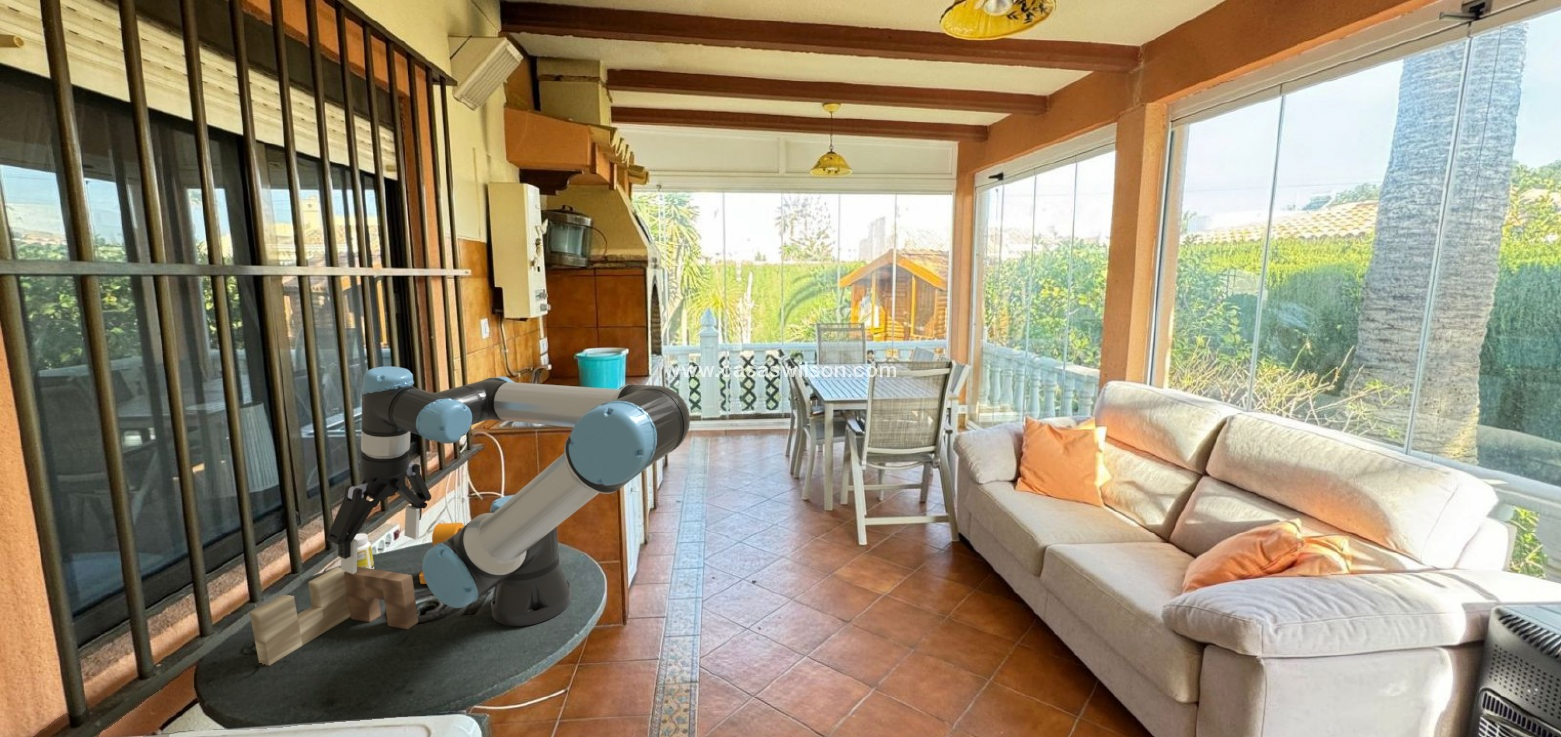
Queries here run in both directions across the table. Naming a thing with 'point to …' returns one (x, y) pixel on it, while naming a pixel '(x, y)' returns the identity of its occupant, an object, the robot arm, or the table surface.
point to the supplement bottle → (364, 552)
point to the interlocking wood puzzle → (299, 617)
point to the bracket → (442, 536)
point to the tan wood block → (381, 596)
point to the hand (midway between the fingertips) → (381, 553)
